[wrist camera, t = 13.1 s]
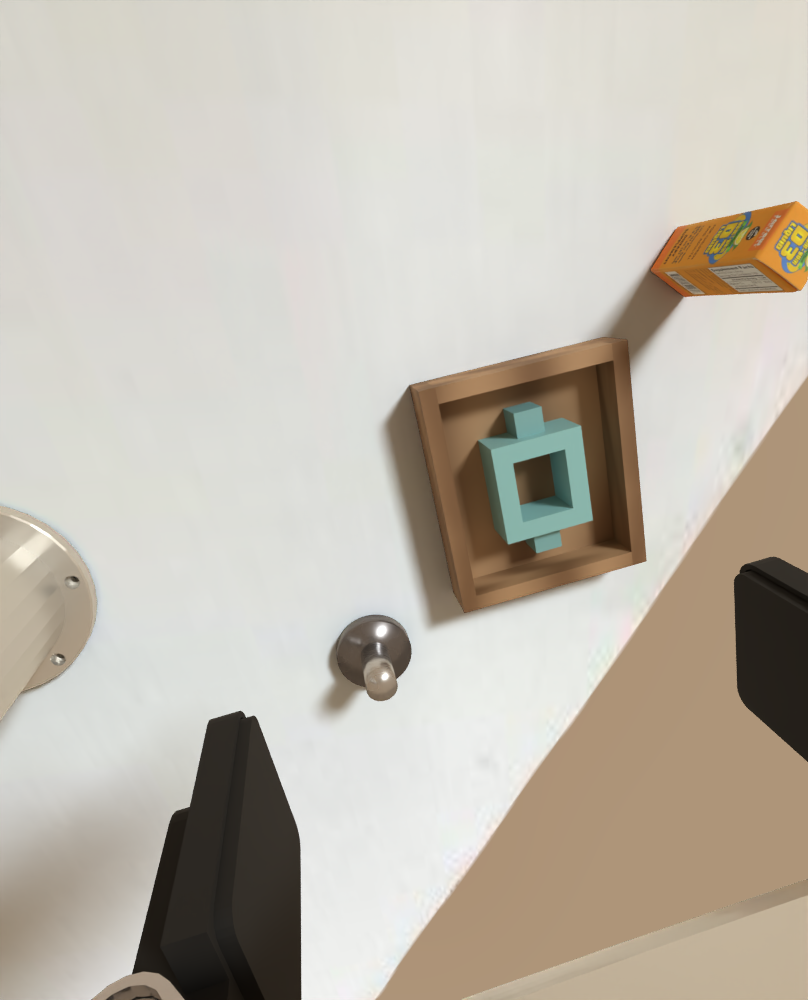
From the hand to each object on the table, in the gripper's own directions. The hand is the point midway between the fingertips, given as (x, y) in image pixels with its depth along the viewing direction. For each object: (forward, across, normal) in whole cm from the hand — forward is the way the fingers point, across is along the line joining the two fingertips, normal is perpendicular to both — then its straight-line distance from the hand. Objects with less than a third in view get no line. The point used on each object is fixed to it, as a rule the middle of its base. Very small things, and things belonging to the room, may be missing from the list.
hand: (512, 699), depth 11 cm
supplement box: (+28, -22, -5) cm, 36 cm away
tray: (+28, -10, +6) cm, 31 cm away
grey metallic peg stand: (+28, +3, +16) cm, 33 cm away
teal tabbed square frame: (+28, -10, +6) cm, 30 cm away
